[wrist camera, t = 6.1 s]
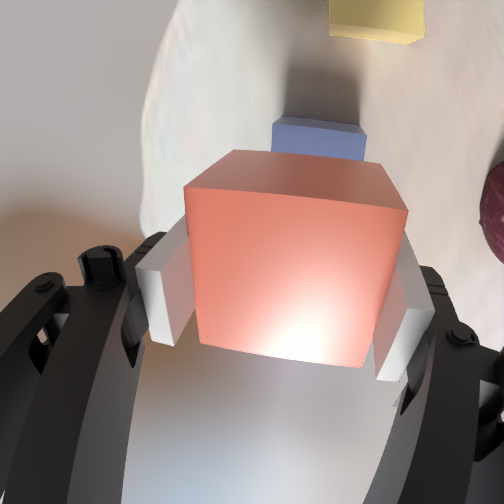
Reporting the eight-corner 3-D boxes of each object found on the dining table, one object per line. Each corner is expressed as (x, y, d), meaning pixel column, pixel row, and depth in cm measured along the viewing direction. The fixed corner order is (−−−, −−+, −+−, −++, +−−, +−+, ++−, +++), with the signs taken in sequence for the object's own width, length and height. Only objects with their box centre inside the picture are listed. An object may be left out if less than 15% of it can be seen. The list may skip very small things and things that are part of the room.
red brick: (234, 149, 13) (183, 186, 8) (380, 163, 12) (408, 210, 7) (235, 271, 16) (200, 342, 12) (357, 287, 15) (361, 367, 10)
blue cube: (283, 115, 23) (272, 123, 19) (359, 125, 22) (366, 135, 18) (279, 186, 26) (268, 208, 22) (349, 195, 25) (353, 220, 21)
